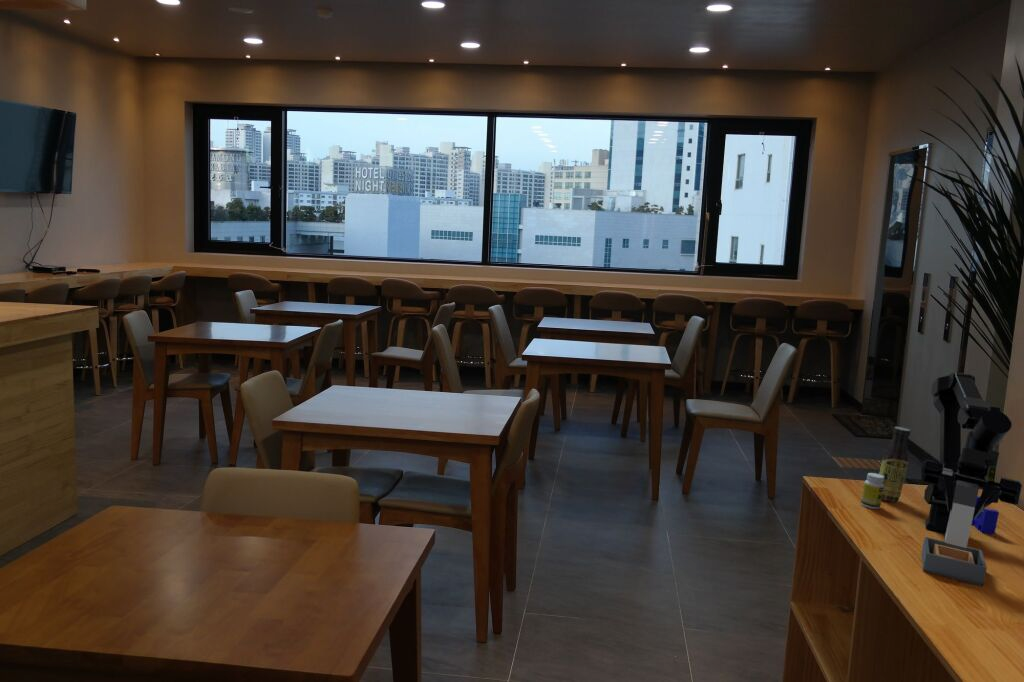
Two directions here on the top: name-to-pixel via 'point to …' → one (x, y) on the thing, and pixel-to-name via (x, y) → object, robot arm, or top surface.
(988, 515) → the cable clip
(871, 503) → the supplement bottle
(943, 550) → the walled box
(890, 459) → the sauce bottle
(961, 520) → the plug
